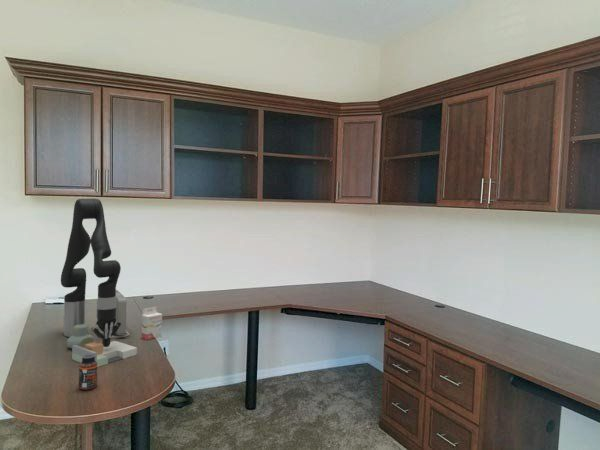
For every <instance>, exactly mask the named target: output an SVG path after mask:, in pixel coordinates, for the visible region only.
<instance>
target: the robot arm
mask: <svg viewBox="0 0 600 450" xmlns="http://www.w3.org/2000/svg"><path fill="white" fill-rule="evenodd" d="M72 215H73V216H72V224H71V225H72V226H71V230H70V234H69V235H70V236H69V239H68V244H67V249H66V257H65V260H64V264H63V268H62V269H61V270H62V271H61V275H60V284H61V286H62V287H63V288H68V289H69V288H76V289H74V290H73V291H71V292H68V293H66V294H65V295H64V297H63V299H64V301H63V302H64V306H63V307H64V308H63V309H64V311H63V312H64V313H63V336H65V337H69V338H70V337H71V336H72V335H73V327H74V326H76V325H80V324H85V325H86V287H87V271H86V269H85V268H82V267H80V268H79V267H78V268H75V267H76V266H77V264H78V263H80V262H81V261H82V260H83V259H84V258H85V257H86V256H87V255H88V254H89V252H90V248H91V250H92V253H93V274H94V275H95V277H97V278H100V279H101V278H108V279H107V280H105V281H103V282H100V283H99V284H98V286H97V301H96V304H97V305H96V319H97V321H96V323H95V324H96V325H94V326H93V327H91V331H92V332H93V333H94V334H95V335H96V337H97V338H100V339H101V340H102V344H103V346H104V347H108V346H109V345H110V342H111V339H112V338H111V336H116V334H115V333H116V332H117V330H118V328H119V327H120V325H121V323H119V322H117V321H116V318H115V317H116V290H117V284H118V279H119V277H120V274H121V270H122V269H121V263H120V261H119V260H116V259H112V260H105V259H108V258H110V257H111V256H112V249H111V245H110V242H109V239H108V234H107V228H106V220H105V213H104V207H103V203H102V202H101V199H99V198H77V199H76V200H75V202H74V205H73V214H72ZM89 219H90V220H93V219H94V220H95V222H96V223H95V224H96V225H95V228H94V230H93V232H92V235H91V236H90V235H89V233H88V231H87V230H86V229H85V227H84V225H83V221H84V220H89Z"/></svg>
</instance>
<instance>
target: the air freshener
mask: <svg viewBox="0 0 600 450" xmlns="http://www.w3.org/2000/svg"><path fill="white" fill-rule="evenodd" d="M93 342H95V339H94V336H93V335H92V334H90V333H89V325H87V324H86V323H85V324H80V325H76V326H74V327H73V335H72V336H71V337H69V338H68V339H67V340H66V344H67V346H68V347H69V348H70V349H72V345H77V346H80V347H83V348H85V344H89V343H93Z"/></svg>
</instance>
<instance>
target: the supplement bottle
mask: <svg viewBox="0 0 600 450" xmlns="http://www.w3.org/2000/svg"><path fill="white" fill-rule="evenodd" d="M94 359H95V356H94V355H84V356H83V357H82V362H81V363H80V362H79V365H78V389H80V390H82V391H87V390H93V389H94V388H96V387H97V385H98V367H97V361H95V360H94Z"/></svg>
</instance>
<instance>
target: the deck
mask: <svg viewBox="0 0 600 450" xmlns="http://www.w3.org/2000/svg"><path fill="white" fill-rule="evenodd" d="M71 351H72V353H71V355H72V356H71V360H72V361H75V362H77V363H79V364H80V363H81V362H82V357H83V356H84V355H94V356H95V359H94V360H95V361H97V368H98V367H99V368H100V367H102V366H106V365H108V364H112V363H115V362H117V361H120V360H124V359H126V358H130V357H131V358H132V357H133V356H137V355H138V348H137V347H136V346H133V345H129V344H126V343H123V342H120V341H117V340H113V341H110V345H109V346H108V347H104V346H103V353H102V354H99V355H97V352H94V351H91V350H88V349H86V348H83V347H80V346H77V345H72V348H71Z"/></svg>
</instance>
